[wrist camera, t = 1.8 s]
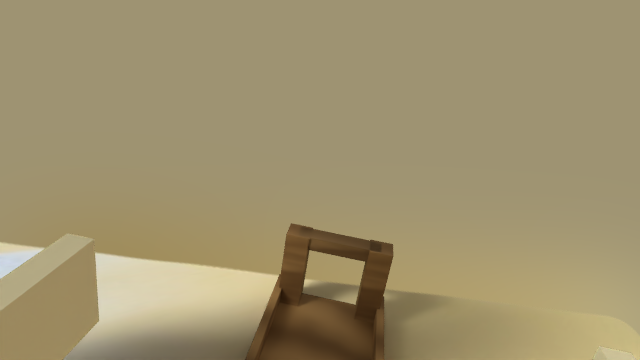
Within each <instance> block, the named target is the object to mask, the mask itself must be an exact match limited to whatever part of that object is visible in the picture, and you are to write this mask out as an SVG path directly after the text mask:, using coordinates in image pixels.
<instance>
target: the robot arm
mask: <svg viewBox="0 0 640 360" xmlns="http://www.w3.org/2000/svg"><path fill="white" fill-rule="evenodd" d="M94 246H95V245H94V239H91V238H86V237H82V236H77V235H72V234H68V233H67V234H66V235H64V236H63V237H61V238H60V239H58V240H57V241H56V242H54V243H53V244H51V245H50V246H48V247H47V248H45V249H44V250H42V251H41V252H39V253H38V254H37V255H35V256H34V257H32V258H31V259H29V260H28V261H26V262H25V263H23V264H22V265H20V266H19V267H18V268H16V269H15V270H13V271H12V272H10V273H9V274H7V275H6V276H4V277H3V278H1V279H0V360H63V359H64V358H65V356H66V355H67V354H68V353H69V352H70V351H71V350H72V349H73V348H74V347H75V346H76V345H77V344H78V343H79V342H80V340H81V339H82V338H83V337H84V336H85V335H86V334H87V333H88V332H89V331H90V330H91V329H92V328H93V327H94V326H95V324H96V323H97V322H98V321H99V312H98V296H97V279H96V262H95V247H94ZM592 360H636V358H635V357H634V356H633V354H632V353H629V352H625V351H620V350H615V349H611V348H606V347H601V346H599V347H598V349H597V351H596V353H595V355H594V357H593V359H592Z"/></svg>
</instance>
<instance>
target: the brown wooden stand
mask: <svg viewBox="0 0 640 360" xmlns="http://www.w3.org/2000/svg"><path fill="white" fill-rule="evenodd" d="M309 250H312V251H317V252H322V253H327V254H331V255H336V256H341V257H346V258H350V259H355V260H360V261H365V266H364V270H363V275H362V279H361V283H360V288H359V292H358V297H357V301H356V305H354V304H349V303H345V302H340V301H335V300H331V299H326V298H322V297H317V296H313V295H308V294H303V293H302V291H303V285H304V279H305V273H306V267H307V261H308V255H309ZM392 259H393V244H389V243H384V242H379V241H374V240H370V241H369V240H364V239H359V238H354V237H349V236H345V235H339V234H335V233H330V232H325V231H320V230H316V229H313V228H311V227H306V226H301V225H296V224H291V225H290V227H289V230H288V232H287V234H286V241H285V249H284V256H283V263H282V270H281V274H280V275H279V277H278V280H277V282H276V285H275V287H274V290H273V292H272V295H271V297H270V300H269V302H268V305H267V307H266V310H265V312H264V314H263V317H262V319H261V322H260V324H259V327H258V329H257V332H256V334H255V337H254V339H253V342H252V344H251V347H250V349H249V352H248V354H247V357H246V359H245V360H384V297H383V294H384V291H385V287H386V283H387V279H388V275H389V271H390V267H391V263H392Z"/></svg>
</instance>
